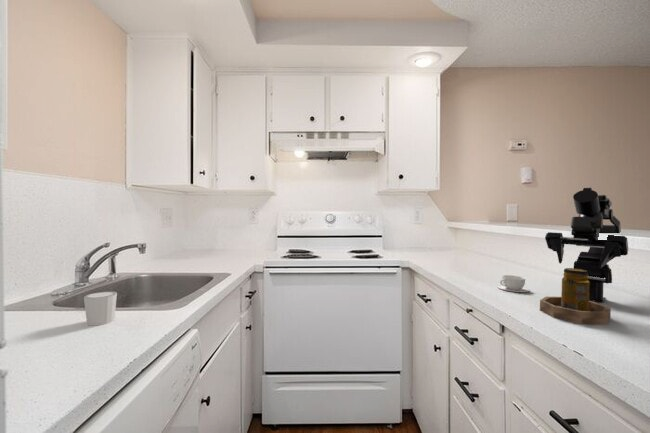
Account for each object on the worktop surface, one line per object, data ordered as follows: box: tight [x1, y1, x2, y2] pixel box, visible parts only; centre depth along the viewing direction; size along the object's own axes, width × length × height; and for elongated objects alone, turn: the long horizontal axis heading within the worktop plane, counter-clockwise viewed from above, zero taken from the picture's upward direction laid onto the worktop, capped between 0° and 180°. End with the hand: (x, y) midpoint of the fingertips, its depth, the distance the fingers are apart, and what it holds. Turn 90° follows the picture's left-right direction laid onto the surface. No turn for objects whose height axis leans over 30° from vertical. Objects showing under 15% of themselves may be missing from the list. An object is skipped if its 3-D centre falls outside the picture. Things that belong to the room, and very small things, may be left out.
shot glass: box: [83, 291, 118, 327], centre depth 79 cm, size 7×7×7 cm
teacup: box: [497, 274, 530, 293], centre depth 114 cm, size 10×10×5 cm
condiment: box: [558, 267, 590, 311], centre depth 86 cm, size 7×8×12 cm
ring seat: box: [539, 296, 612, 326], centre depth 86 cm, size 14×14×3 cm
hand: (579, 264), depth 89 cm, fingers open, 9 cm apart
